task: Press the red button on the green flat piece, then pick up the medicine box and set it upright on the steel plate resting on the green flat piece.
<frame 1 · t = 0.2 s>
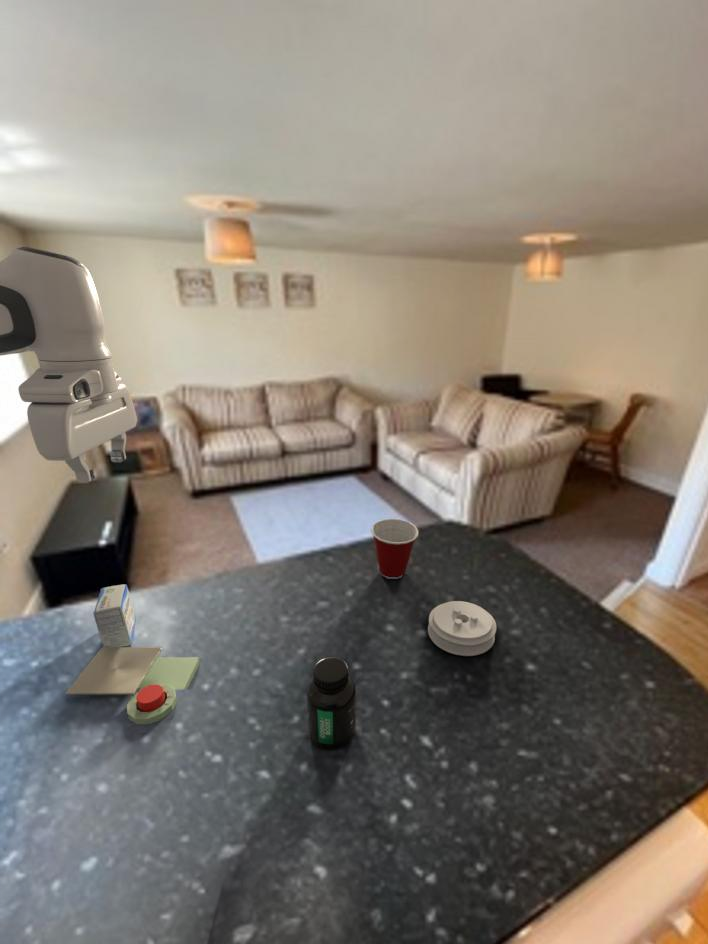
hand: (104, 470, 70), 33 cm above the worktop, tool pointing down, fingers open, 8 cm apart
medicine box: (121, 636, 84), on the worktop
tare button: (150, 697, 66), point 4 cm above the worktop, slide at 0.2 cm
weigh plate: (117, 670, 72), resting on green flat piece
plastic cup: (392, 574, 106), on the worktop
supplement bottle: (332, 732, 66), on the worktop
green flat piece: (134, 694, 71), on the worktop
lid: (460, 637, 86), on the worktop
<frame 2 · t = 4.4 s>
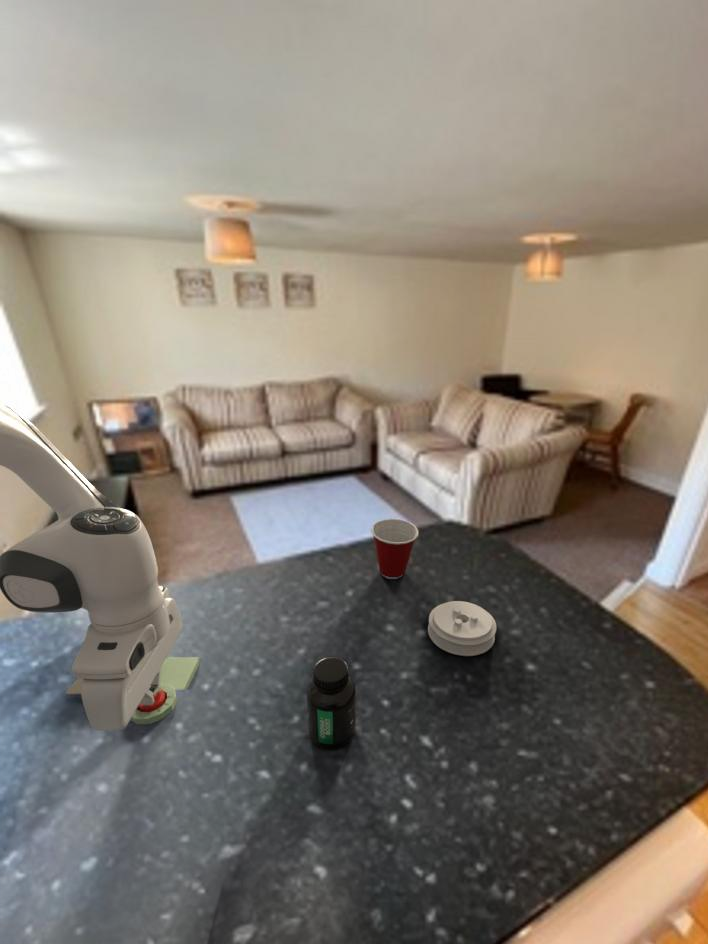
hand: (151, 697, 66), 4 cm above the worktop, tool pointing down, fingers closed, pressing on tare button
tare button: (152, 702, 67), point 3 cm above the worktop, slide at -0.8 cm, touching gripper
everything else where it was.
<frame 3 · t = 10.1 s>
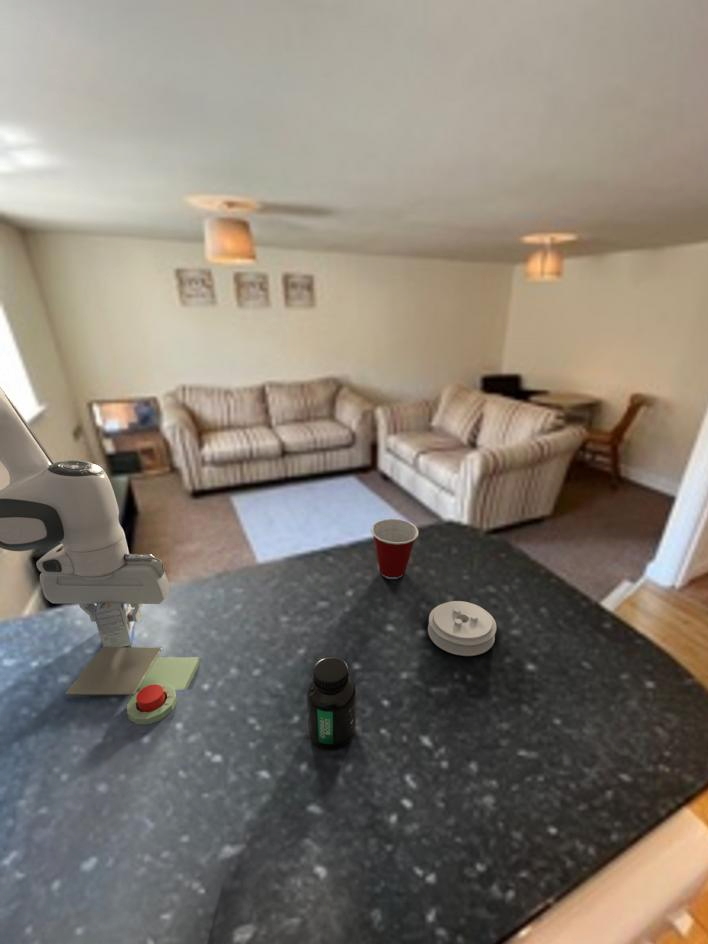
hand: (116, 619, 82), 4 cm above the worktop, tool pointing down, fingers closed on medicine box, 5 cm apart
medicine box: (121, 636, 84), on the worktop, touching gripper
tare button: (150, 697, 66), point 4 cm above the worktop, slide at 0.1 cm
everything else where it was.
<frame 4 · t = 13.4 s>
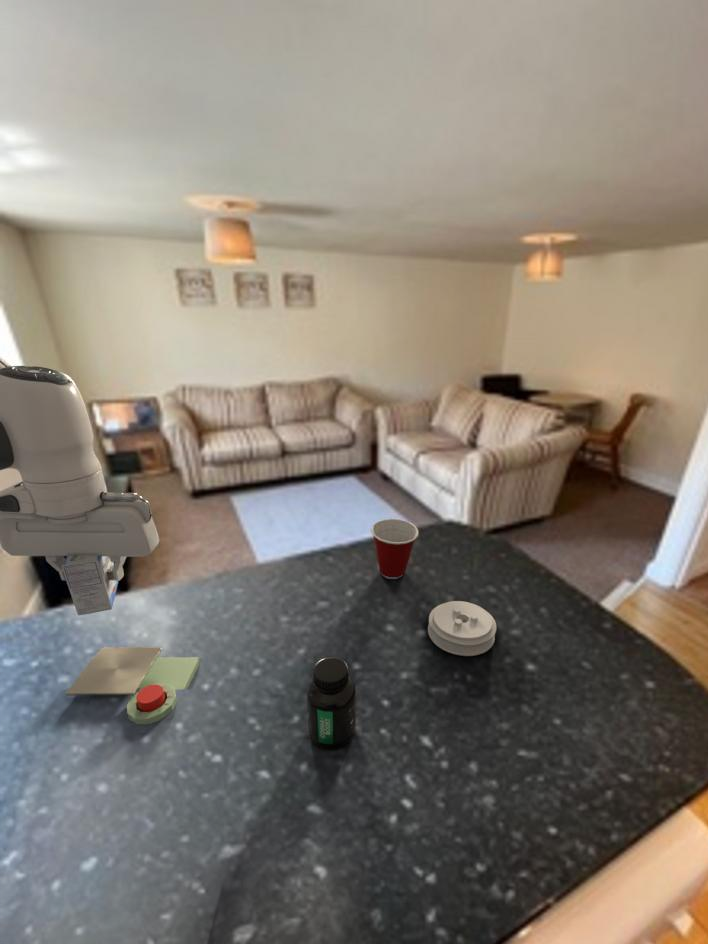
hand: (93, 578, 66), 19 cm above the worktop, tool pointing down, fingers closed on medicine box, 5 cm apart
medicine box: (99, 599, 68), point 15 cm above the worktop, touching gripper
everything else where it was.
when the fingers open (7 cm above the worktop, at t = 16.7 s): medicine box stays where it is, resting on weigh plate.
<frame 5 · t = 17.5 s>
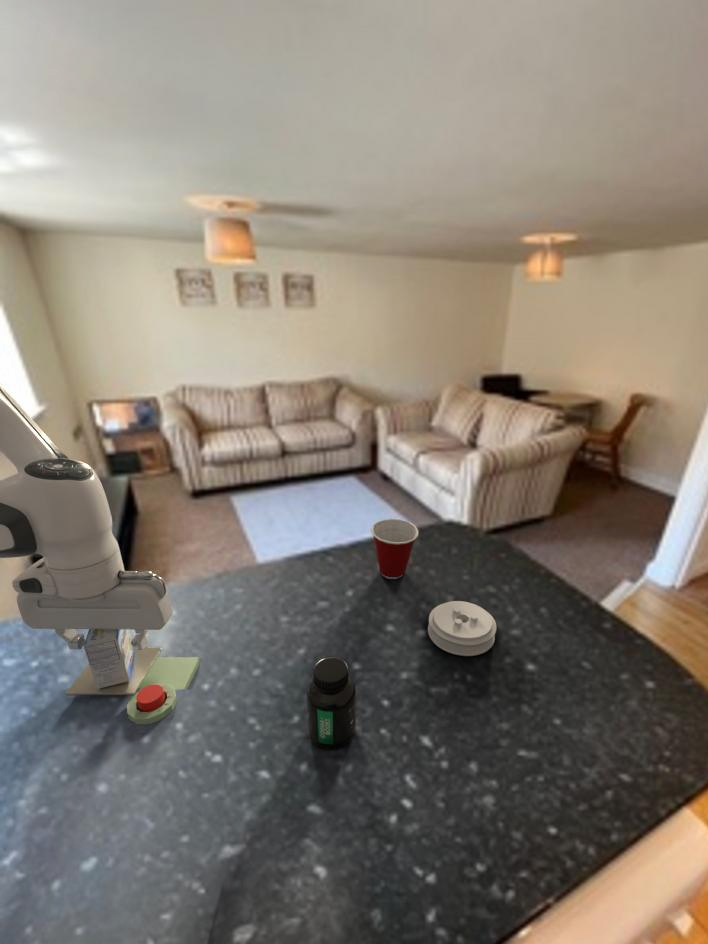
hand: (109, 646, 70), 8 cm above the worktop, tool pointing down, fingers open, 8 cm apart
medicine box: (117, 669, 72), point 3 cm above the worktop, touching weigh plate
everything else where it was.
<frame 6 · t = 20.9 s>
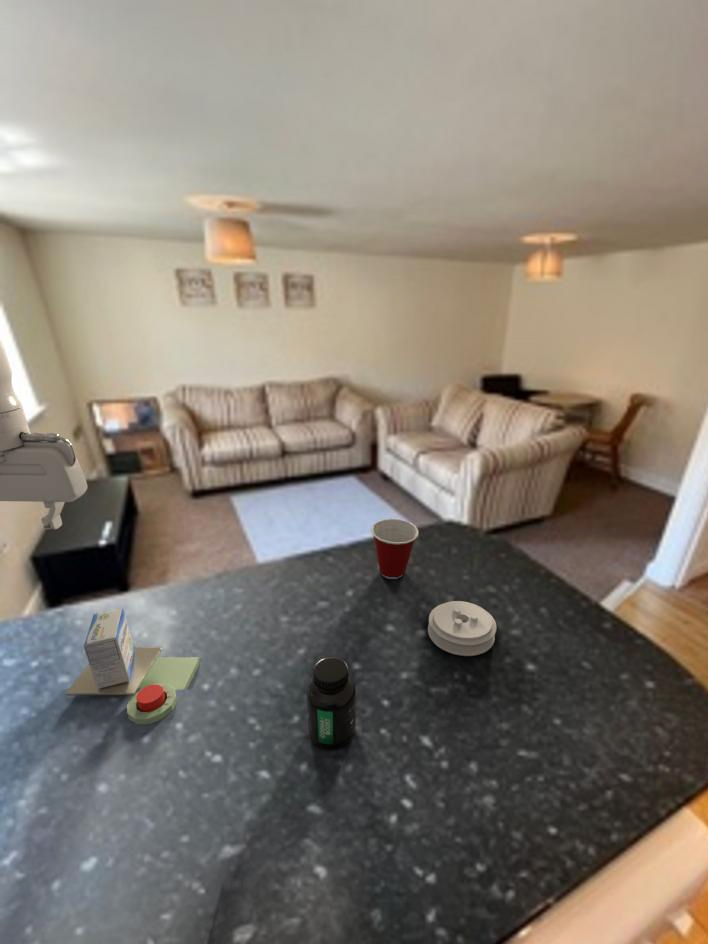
hand: (20, 527, 64), 27 cm above the worktop, tool pointing down, fingers open, 8 cm apart
nothing on the worktop moved.
at the end: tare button pushed in 1.0 cm at the most during the clip, back to where it started at the end; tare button slide at 0.1 cm; medicine box 0.0 cm off-centre on the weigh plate, point 0.2 cm above the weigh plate's base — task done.
